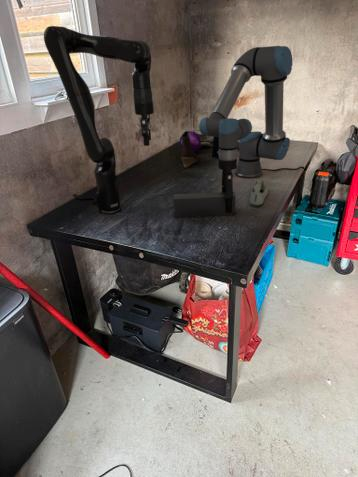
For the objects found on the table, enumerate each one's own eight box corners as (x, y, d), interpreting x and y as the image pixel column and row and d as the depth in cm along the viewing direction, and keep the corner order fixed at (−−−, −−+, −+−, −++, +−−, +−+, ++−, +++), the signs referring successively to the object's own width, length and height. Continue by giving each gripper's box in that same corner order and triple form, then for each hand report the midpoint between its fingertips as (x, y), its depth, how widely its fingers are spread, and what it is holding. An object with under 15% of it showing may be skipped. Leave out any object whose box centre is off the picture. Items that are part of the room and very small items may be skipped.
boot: (199, 157, 223) (198, 126, 213) (193, 168, 203) (192, 135, 193) (186, 157, 225) (185, 126, 215) (179, 168, 205) (177, 135, 195)
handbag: (223, 159, 216) (223, 119, 204) (210, 157, 220) (210, 119, 208) (235, 151, 231) (236, 113, 218) (223, 150, 235) (224, 113, 223)
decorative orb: (204, 151, 235) (204, 129, 228) (194, 156, 225) (193, 134, 217) (186, 149, 243) (186, 128, 235) (175, 154, 232) (174, 132, 224)
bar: (233, 209, 150) (233, 191, 145) (234, 214, 145) (235, 196, 141) (175, 212, 150) (173, 194, 146) (174, 217, 146) (173, 198, 141)
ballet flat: (269, 188, 169) (270, 173, 165) (265, 208, 149) (266, 191, 145) (252, 187, 171) (253, 172, 167) (246, 206, 151) (247, 190, 147)
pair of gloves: (199, 150, 238) (199, 142, 236) (185, 142, 259) (184, 136, 256) (235, 144, 248) (235, 136, 245) (218, 137, 269) (218, 130, 266)
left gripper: (136, 98, 134) (140, 139, 142) (131, 104, 121) (136, 148, 129) (154, 97, 133) (157, 138, 141) (151, 102, 121) (155, 147, 129)
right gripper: (215, 151, 146) (215, 195, 157) (221, 168, 124) (221, 218, 135) (232, 150, 146) (231, 194, 156) (241, 167, 124) (239, 218, 135)
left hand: (147, 142), depth 135 cm, fingers open, 8 cm apart
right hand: (226, 206), depth 146 cm, fingers open, 13 cm apart
